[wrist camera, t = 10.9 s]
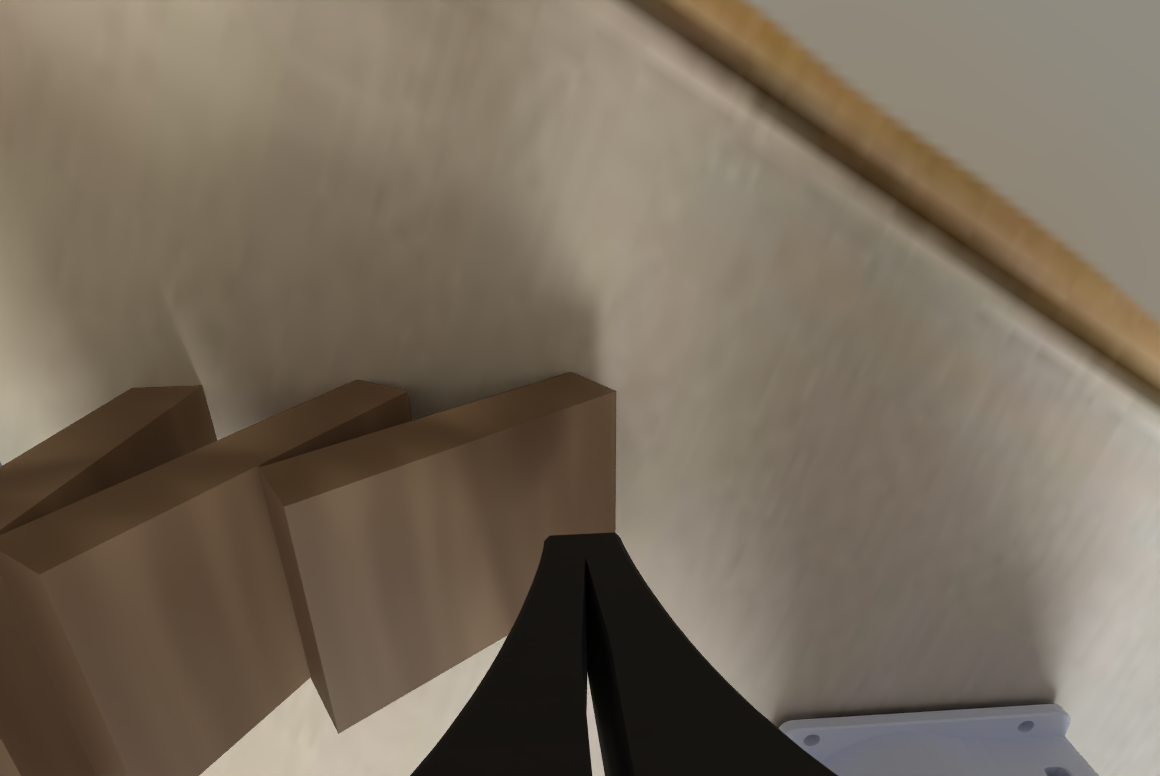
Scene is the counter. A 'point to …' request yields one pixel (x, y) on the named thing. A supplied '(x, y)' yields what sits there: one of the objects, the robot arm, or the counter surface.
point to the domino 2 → (178, 593)
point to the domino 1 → (53, 481)
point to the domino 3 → (435, 533)
